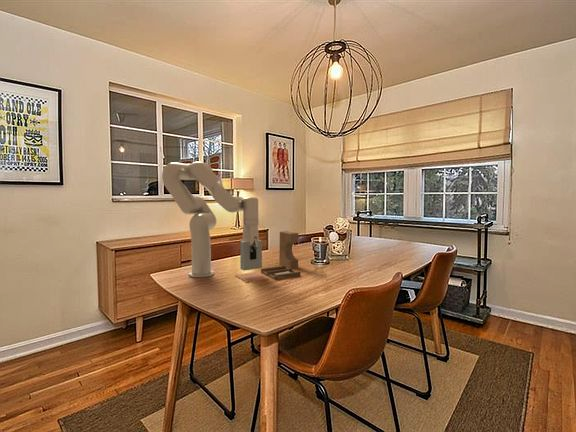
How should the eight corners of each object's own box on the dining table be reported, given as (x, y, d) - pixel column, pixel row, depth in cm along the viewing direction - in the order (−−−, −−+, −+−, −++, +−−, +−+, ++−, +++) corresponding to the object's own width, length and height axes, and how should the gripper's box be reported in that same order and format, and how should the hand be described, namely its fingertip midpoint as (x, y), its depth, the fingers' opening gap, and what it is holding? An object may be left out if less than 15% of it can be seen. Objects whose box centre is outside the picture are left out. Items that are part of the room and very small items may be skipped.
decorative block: (298, 268, 180) (299, 233, 178) (290, 269, 177) (291, 233, 175) (286, 264, 189) (287, 230, 187) (278, 265, 185) (279, 231, 184)
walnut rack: (261, 273, 168) (261, 268, 168) (284, 270, 175) (284, 265, 175) (275, 280, 155) (275, 275, 154) (300, 276, 162) (300, 271, 162)
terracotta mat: (235, 275, 162) (235, 274, 162) (256, 272, 169) (256, 271, 169) (246, 282, 151) (246, 281, 150) (268, 279, 157) (268, 278, 157)
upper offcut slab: (273, 276, 161) (273, 273, 161) (288, 273, 167) (288, 271, 167) (279, 278, 157) (279, 275, 157) (293, 275, 163) (293, 273, 163)
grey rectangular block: (240, 268, 159) (240, 241, 158) (258, 266, 164) (258, 239, 163) (243, 270, 156) (243, 242, 155) (262, 268, 161) (261, 240, 160)
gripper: (237, 221, 163) (237, 256, 165) (251, 224, 149) (251, 262, 151) (250, 220, 167) (250, 254, 169) (265, 223, 153) (265, 260, 155)
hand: (251, 258), depth 160 cm, fingers closed on grey rectangular block, 4 cm apart
